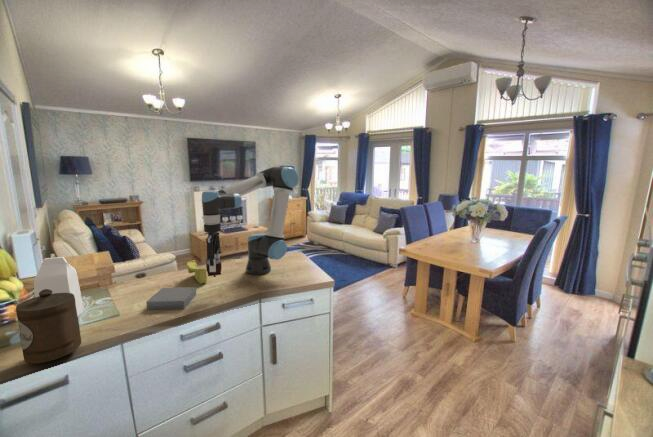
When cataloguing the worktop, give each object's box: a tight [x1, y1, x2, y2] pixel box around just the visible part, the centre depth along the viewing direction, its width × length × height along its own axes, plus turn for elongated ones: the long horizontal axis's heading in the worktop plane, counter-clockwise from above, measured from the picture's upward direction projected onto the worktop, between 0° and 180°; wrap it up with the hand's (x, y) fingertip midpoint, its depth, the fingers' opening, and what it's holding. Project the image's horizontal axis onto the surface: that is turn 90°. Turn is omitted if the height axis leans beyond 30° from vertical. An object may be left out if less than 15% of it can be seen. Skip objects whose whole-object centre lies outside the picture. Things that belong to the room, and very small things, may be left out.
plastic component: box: [186, 259, 208, 285], centre depth 171 cm, size 20×7×10 cm, turn 38°
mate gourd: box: [205, 246, 223, 278], centre depth 148 cm, size 8×8×15 cm
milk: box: [33, 256, 85, 317], centre depth 125 cm, size 12×12×26 cm
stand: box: [146, 286, 197, 311], centre depth 143 cm, size 16×16×4 cm
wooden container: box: [15, 289, 82, 364], centre depth 103 cm, size 15×15×22 cm
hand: (215, 269), depth 149 cm, fingers closed on mate gourd, 7 cm apart
